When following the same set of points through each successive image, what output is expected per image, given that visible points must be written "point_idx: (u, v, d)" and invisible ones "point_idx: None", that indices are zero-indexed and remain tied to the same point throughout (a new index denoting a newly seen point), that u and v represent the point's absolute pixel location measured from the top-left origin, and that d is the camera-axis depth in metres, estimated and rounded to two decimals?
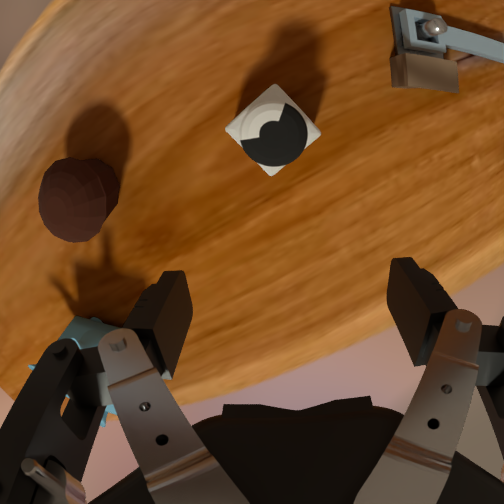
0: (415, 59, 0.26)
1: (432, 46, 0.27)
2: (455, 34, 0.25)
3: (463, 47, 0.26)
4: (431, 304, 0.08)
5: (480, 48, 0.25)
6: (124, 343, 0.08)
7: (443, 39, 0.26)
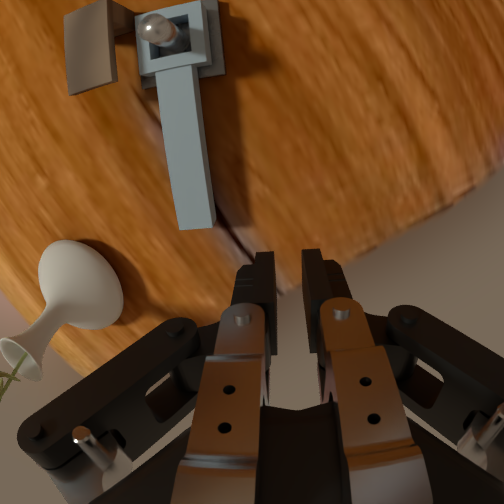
0: (99, 13, 0.15)
1: (142, 49, 0.19)
2: (180, 92, 0.20)
3: (161, 110, 0.21)
4: (316, 292, 0.09)
5: (174, 148, 0.22)
6: (247, 319, 0.08)
7: (161, 67, 0.19)
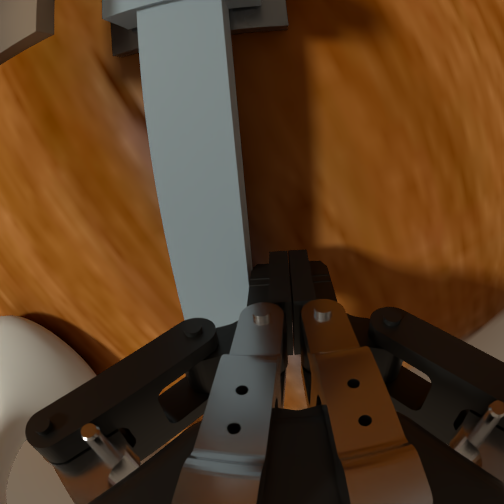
0: None
1: None
2: (193, 51, 0.08)
3: (147, 92, 0.09)
4: (299, 293, 0.09)
5: (175, 181, 0.10)
6: (267, 318, 0.08)
7: None
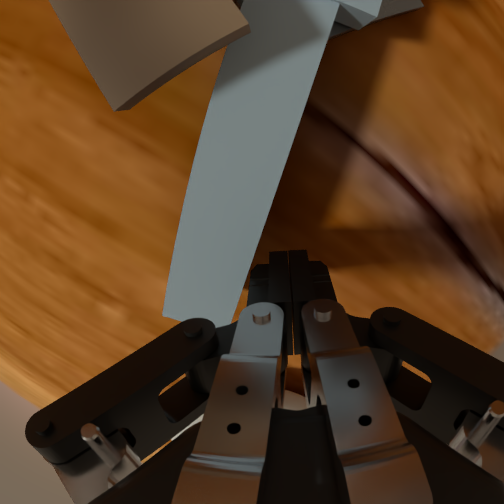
0: None
1: None
2: (290, 45, 0.08)
3: (227, 63, 0.08)
4: (299, 293, 0.09)
5: (217, 160, 0.10)
6: (266, 318, 0.08)
7: None
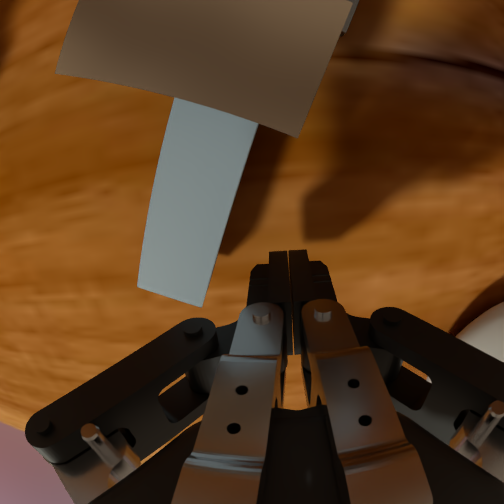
0: None
1: None
2: None
3: None
4: (299, 293, 0.09)
5: (189, 124, 0.09)
6: (266, 318, 0.08)
7: None
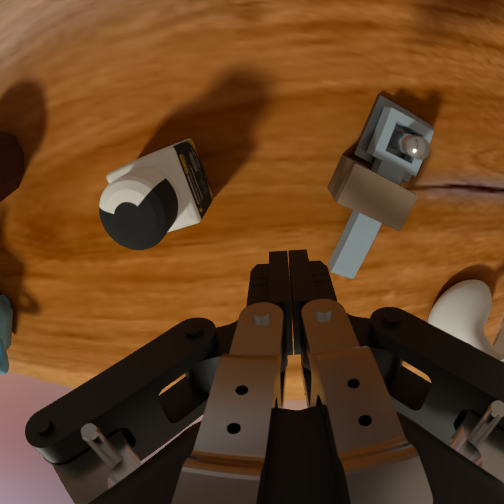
0: (364, 175, 0.26)
1: (384, 138, 0.26)
2: None
3: None
4: (299, 293, 0.09)
5: (363, 219, 0.30)
6: (266, 318, 0.08)
7: (388, 161, 0.27)
